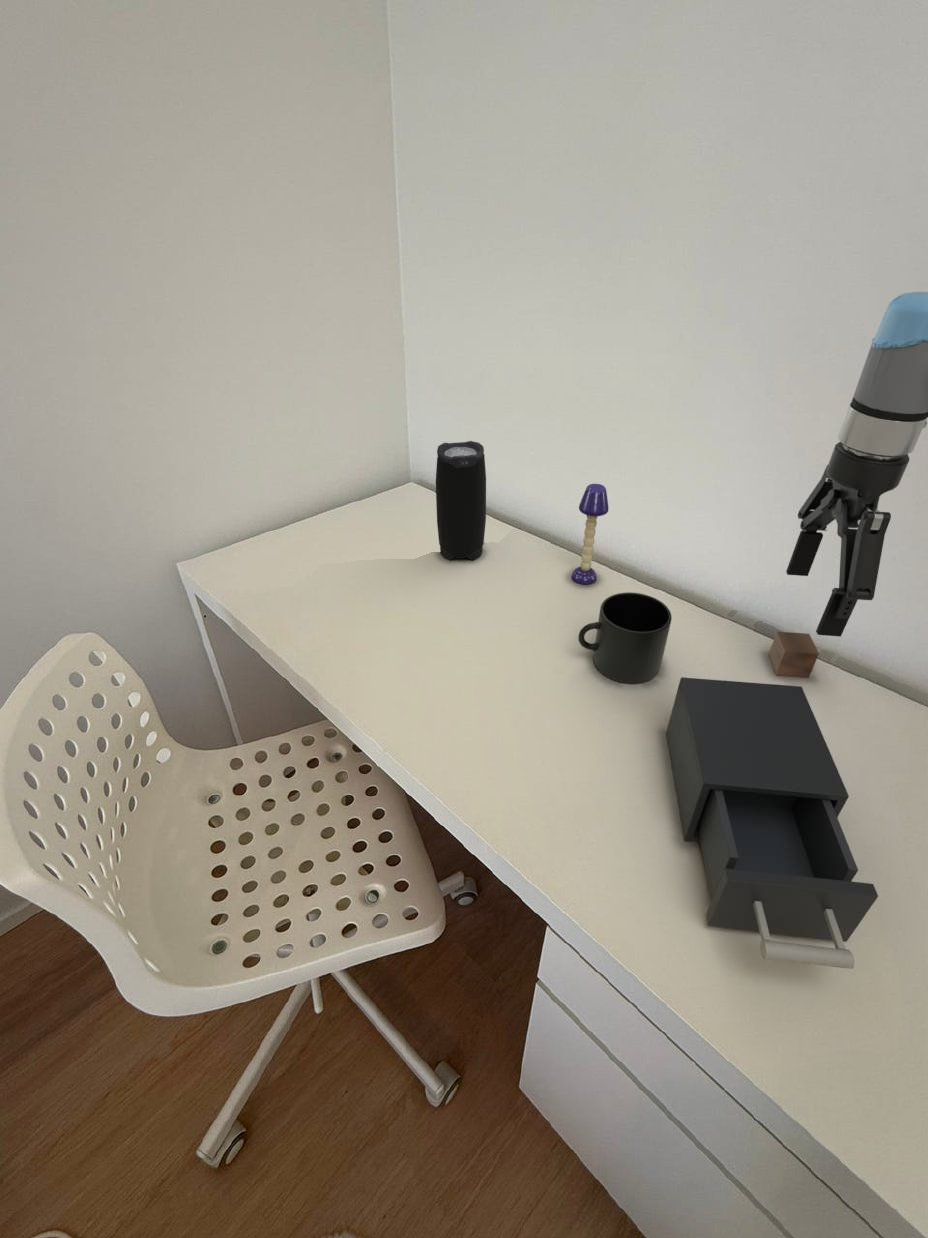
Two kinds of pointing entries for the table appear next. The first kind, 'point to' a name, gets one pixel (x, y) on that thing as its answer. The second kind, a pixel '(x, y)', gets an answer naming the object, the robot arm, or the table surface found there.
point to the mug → (629, 637)
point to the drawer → (782, 873)
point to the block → (793, 654)
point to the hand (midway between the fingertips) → (811, 602)
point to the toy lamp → (590, 529)
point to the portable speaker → (461, 499)
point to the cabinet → (746, 745)
